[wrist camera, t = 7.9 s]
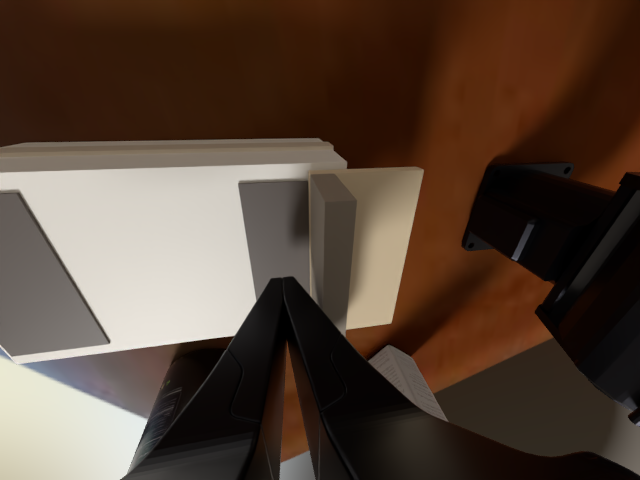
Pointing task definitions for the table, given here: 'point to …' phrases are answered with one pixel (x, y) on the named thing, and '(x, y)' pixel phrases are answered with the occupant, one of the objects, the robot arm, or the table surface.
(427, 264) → the table surface
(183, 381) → the supplement bottle
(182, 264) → the carton
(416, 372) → the skincare box
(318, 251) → the flap
